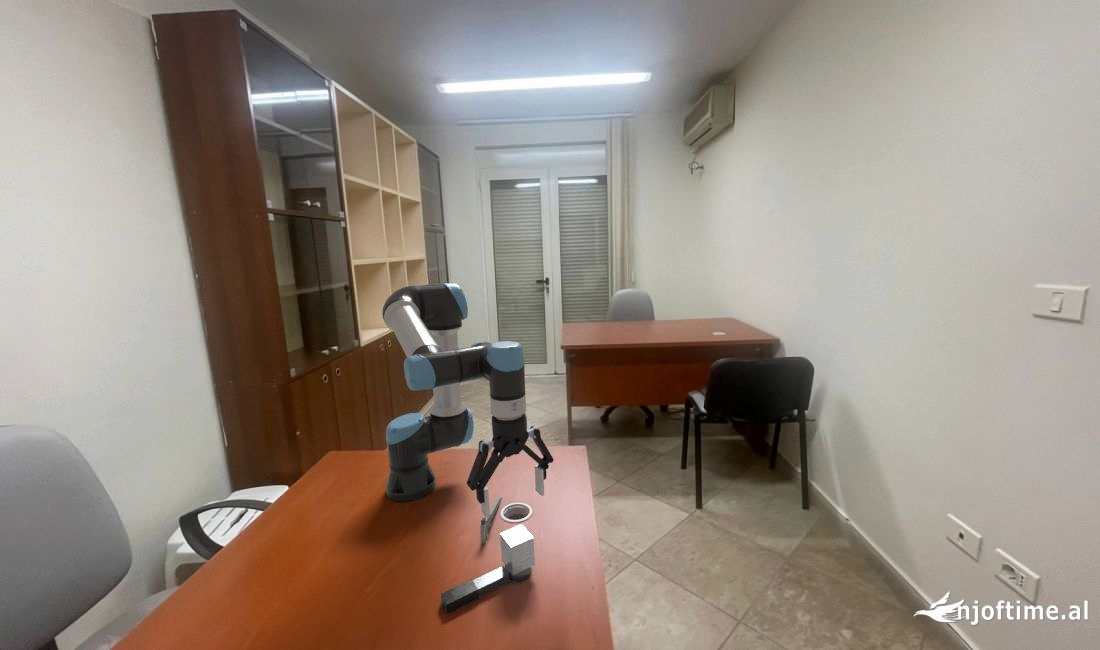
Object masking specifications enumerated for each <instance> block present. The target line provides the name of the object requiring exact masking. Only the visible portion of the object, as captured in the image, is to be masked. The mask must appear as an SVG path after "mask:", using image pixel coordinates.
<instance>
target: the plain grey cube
mask: <svg viewBox="0 0 1100 650" xmlns="http://www.w3.org/2000/svg"><path fill="white" fill-rule="evenodd" d="M499 537H500V550H501V551H500V553H501V561H502V563H503V564H504V566H505V565H506V567H507V568H508V570H509V571H510V572H511V574H512V575H515V574H517V573H519V572H521V571H524V570H526V569H528V568H530V567H531V568H532V567H533V566H536V563H535V561H536V559H535V543H534V540H535V539H534V536H533V535H532V534H531V533H530V532H529V531H528V530H527V528H526V527H525V526H524V525H523V524H519V525H516V526H514V527H512V528H510V529H507V530H505V531H502V532H500V533H499Z"/></svg>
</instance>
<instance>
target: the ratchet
mask: <svg viewBox="0 0 1100 650" xmlns="http://www.w3.org/2000/svg"><path fill="white" fill-rule="evenodd" d="M531 575H532V567H530V568H528V569H526V570H524V571H521V572H519V573H517V574H515V575H512V574H511V572H510V571H509V570H508V568H507V567H506V565H505V564H504V565H502V566H500V567H498V568H496V569H494V570H491V571H489V572H487V573H484V574H483V575H481V576H479V577H477V578H475V579H469V580H467V581H465V582H463V583H461V584H459V585H456V586H453V588H450V589H448V590H445V591H443V592H442V593H441V592H440V598H441V604H442V606H443V608H444V610H445V611H444V612H445V613H446V614H447V615H448V614H450V613H452V612H454V611H456V610H458V609H460V608H462V607H464V606H466V605H468V604H470V603H472V602H474V601H477V600H478V599H479V598H480V597H483V596H485V595H487V594H488V593H491V592H493V591H494V590H496V589H499V588H500V587H503V586H505V585H507V584H508V583H511V582H514V583H521V582H524V581H526V580H527V579H529V578H530V576H531Z"/></svg>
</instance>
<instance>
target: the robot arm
mask: <svg viewBox="0 0 1100 650" xmlns="http://www.w3.org/2000/svg"><path fill="white" fill-rule="evenodd" d="M468 313H469V309H468V302H467V299H466V296H465V293H464V290H463V288H462V287H461V286H460V285H458V284H457V283H453V282H452V283H451V282H450V283H448V282H447V283H446V282H445V283H444V282H440V283H433V284H431V283H430V284H420V285H408V286H403V287H401V288H399V289H397V290H396V291H394V292H392V293H391V295H389V296H388V298H387V299H386V300H385V302H384V304H383V307H382V318H383V322H384V324H385V325H386V328H388V329H389V330H390V331H392V332H393V333H394V335H395V336H396V340H398V342H399V345H400V346H401V349H402V350H403V352H404V354H405V357H406V358H405V359H404V361H403V370H404V372H403V373H404V379H405V382H406V386H407V387H408V389H409V390H411V391H412V392H413V391H414V392H415V391H423V390H427V391H429V390H432V391H433V401H434V402H433V405H432V406H431V407H430V409H429V414H430V415H428V416H427V415H426V416H424V414H422V413H420V412H414V413H413V412H412V413H411V412H410V413H406V414H404V415H400V416H398V417H396V418H394V419H393V420H391V421H390V422H389V423H388V424H387V426H386V428H385V437H386V438H385V442H386V445H387V446H386V447H387V454H388V455H387V456H388V464H389V472H388V477H387V481H386V483H385V492H386V497H387V498H388V499H390V500H392V501H394V502H410V501H414V500H418V499H420V498H421V499H422V498H423V497H425V496H427V495H428V494H430V493H431V492H432V491H434V489H435V488H436V486H437V477H436V474H435V472H434V471H433V468H432V466H431V464H430V461H429V457H428V456H429V454H432V453H436V452H441V451H443V450H447V449H448V450H449V449H452V448H455V447H456V448H457V447H460V446H461V445H465V444H467V443H469V442H470V441H472V440H471V439H472V438H473V436H474V432H475V431H474V430H475V428H474V427H475V422H474V416H473V413H472V411H471V409H470V408H469V407H467V404H466V403H465V402H463V401H462V390H461V389H462V388H461V383H465V382H469V381H475V380H481V379H486V380H487V381H488V382H489V396H490V413H491V415H492V416H491V429H492V439H491V440H490V441H489V440H487V441H485V440H483V439H481V440H479V442H478V451H477V453H476V457H475V459H474V462H473V465H472V467H471V470H470V472H469V475H468V478H467V481H466V485H467V486H468V488H469V489H470V491H475V493H476V500H477V502H478V503H479V504H480V507H481V512H482V514H483V515H484V517H485V516H486V518H488V517H490V501H489V499H490V498H489V488H488V487H487V484H488V483H489V481H490V479H491V478H492V477H493V476H494V473H495V472H496V470H497V469H498V467H499V465H500V464H501V463H502V462H503V461H504V459H505V458H510V457H512V456H513V455H515V456H517V455H520V454H521V452H522V451H523V452H525V453H526V454H527V455H528V456H529V457H530V458H531V459H532V460H533V461H535V462H536V463H537V464H535V465H534V483H535V485H534V487H535V492H537V493H538V494H539V495H540V497H543V496H545V480H547V470H548V469H549V467H550V465H549V464H553V462H554V460H555V459H554V457H553V456H552V454H551V452H550V451H549V449H548V447H547V445H546V444H545V441H544V440H543V439H542V436H541V429H539V428H538V427H536V426H535V425H530V427H529V428H528V421H527V419H528V418H527V417H528V416H527V413H526V412H527V401H526V399H527V398H526V397H527V396H526V377H525V375H526V373H525V363H526V361H525V356H524V347H523V346H522V344H521V343H519V342H517V341H512V340H511V341H510V340H507V341H506V340H505V341H497V342H493V343H492V342H489V341H488V342H487V341H477V342H474V343H473V344H472V345H471V346H467V347H462V348H459V338H458V337H459V335H458V331H459V330H461V328H462V326H463V323H462V322H463V321H464V320H466V319H467V318H468V315H469V314H468ZM529 438H531V439H532V441H534V443H535V446H536V447H537V449H538V450H539V451H540V453H541V456H542V458H541V457H540V455H538V454H537V453H535V452H534V451H533V450H532V449H531V448H530V447H529V446H528V445H526V443H527V441H528V439H529ZM492 448H493V450H492V451H491V449H492ZM489 453H491V454H490V456H489ZM488 456H489V459H488Z"/></svg>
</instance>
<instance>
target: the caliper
mask: <svg viewBox="0 0 1100 650" xmlns="http://www.w3.org/2000/svg"><path fill="white" fill-rule="evenodd" d="M502 498H503V497H502V496H497V497H496V499H495V500H494V503H493V505H492V506H491V508H489V511H490V517H488V518H486V516H485V515H484V517H482V518H481V520H480V530H479V531H480V544H482V545H485V544H486V541H487V540H488V534H489V532H488V531H489V530H488V529H489V527H490V526H491V524H492V520H493V517H494V516H495V513H496V512H497V510H498V508H499V506H500V504H501V503H502V502H501V501H502Z"/></svg>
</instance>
